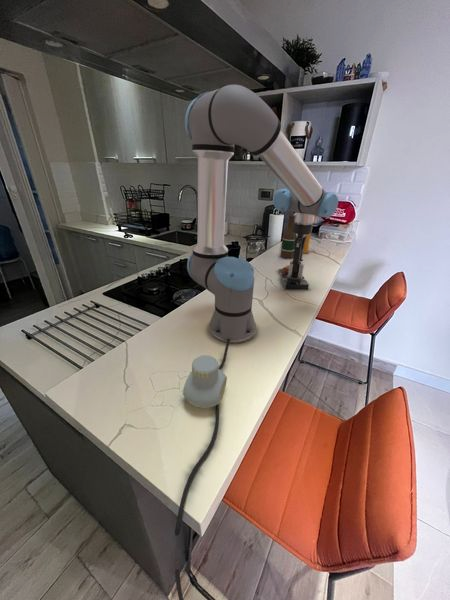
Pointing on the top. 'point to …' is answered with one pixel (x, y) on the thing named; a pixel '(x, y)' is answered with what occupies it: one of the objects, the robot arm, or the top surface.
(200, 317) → the top surface
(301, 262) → the white upright panel
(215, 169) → the robot arm
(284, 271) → the button block
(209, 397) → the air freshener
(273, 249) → the top surface
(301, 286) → the control panel
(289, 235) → the beer bottle
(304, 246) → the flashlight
